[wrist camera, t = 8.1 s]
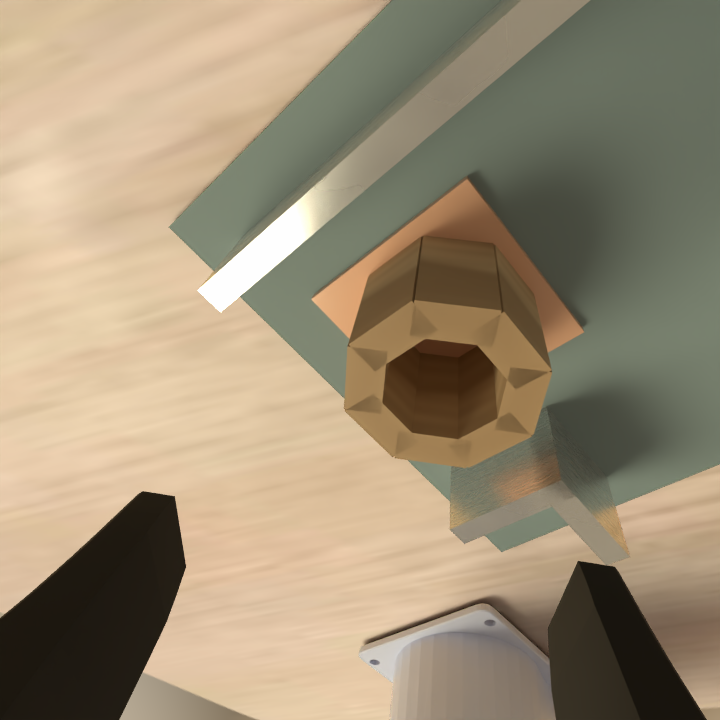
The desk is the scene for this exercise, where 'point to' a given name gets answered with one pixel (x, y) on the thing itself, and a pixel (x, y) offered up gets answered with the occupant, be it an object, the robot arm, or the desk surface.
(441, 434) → the oak ring
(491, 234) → the pad
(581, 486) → the metal walled tray
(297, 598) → the desk surface
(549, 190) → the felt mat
